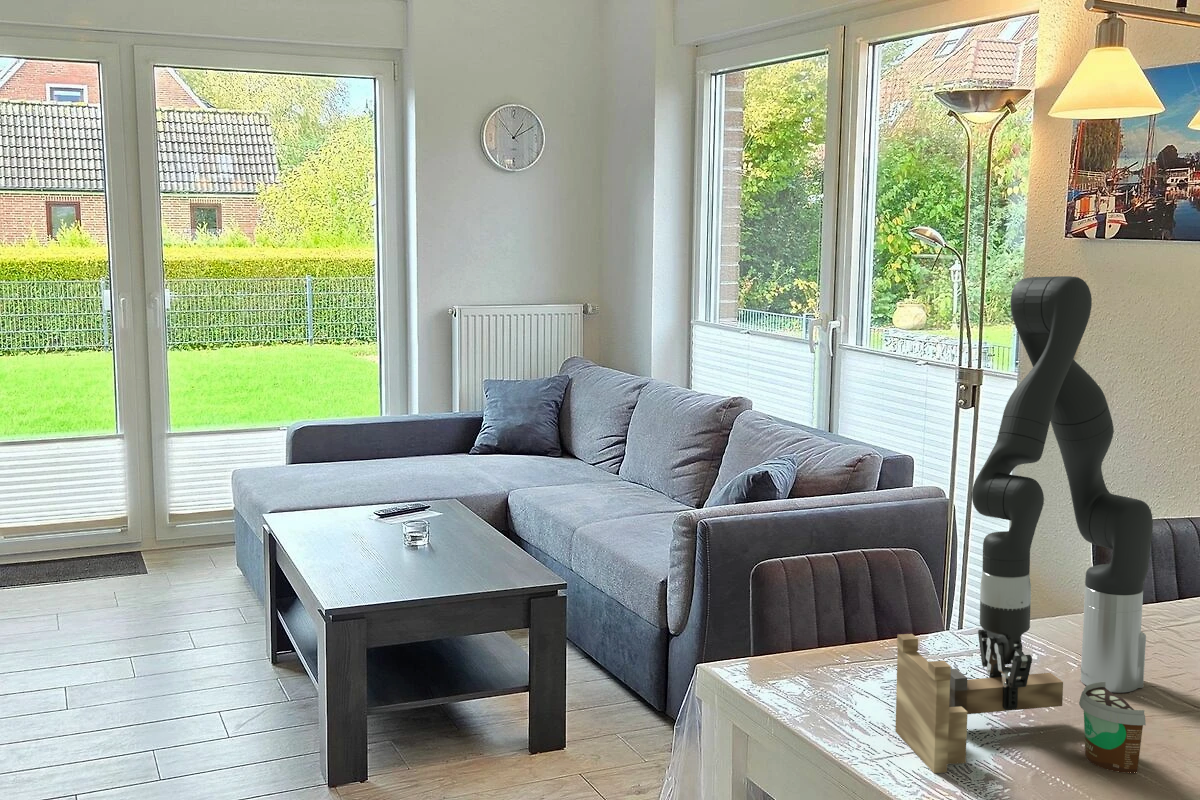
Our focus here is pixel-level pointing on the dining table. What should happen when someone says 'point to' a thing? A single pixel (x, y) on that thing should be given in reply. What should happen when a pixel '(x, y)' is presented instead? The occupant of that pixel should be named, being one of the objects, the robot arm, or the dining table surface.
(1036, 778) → the dining table surface
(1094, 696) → the food container
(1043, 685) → the rail
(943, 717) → the wooden post stand
